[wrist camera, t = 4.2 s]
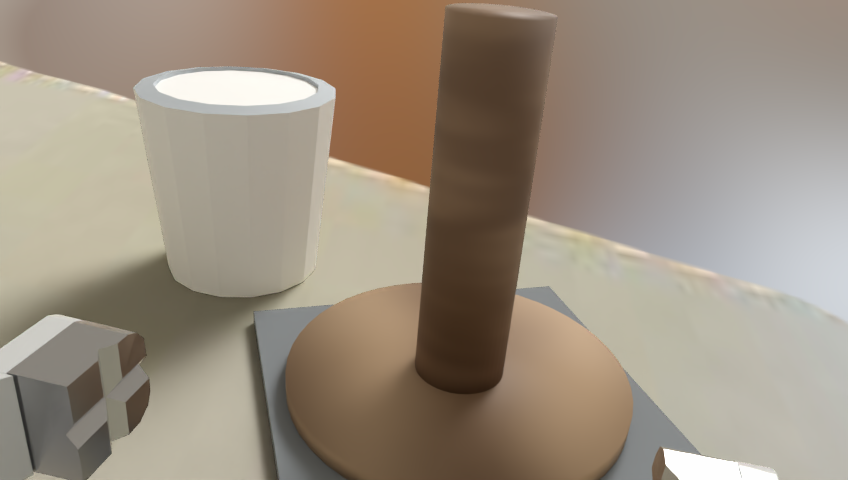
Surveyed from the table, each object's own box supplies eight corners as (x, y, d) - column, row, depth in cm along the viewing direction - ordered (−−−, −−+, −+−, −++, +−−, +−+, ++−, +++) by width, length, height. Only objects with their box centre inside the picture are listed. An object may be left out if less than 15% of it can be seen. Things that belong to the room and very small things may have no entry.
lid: (313, 552, 15) (319, 49, 10) (269, 310, 23) (262, -24, 19) (704, 478, 18) (842, 61, 13) (537, 287, 26) (587, -7, 22)
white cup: (257, 327, 23) (251, 124, 20) (110, 270, 26) (85, 83, 23) (365, 253, 29) (373, 85, 26) (235, 212, 31) (229, 55, 28)
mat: (291, 569, 15) (291, 556, 15) (253, 321, 23) (253, 311, 23) (715, 487, 18) (720, 475, 18) (547, 295, 27) (548, 286, 27)
